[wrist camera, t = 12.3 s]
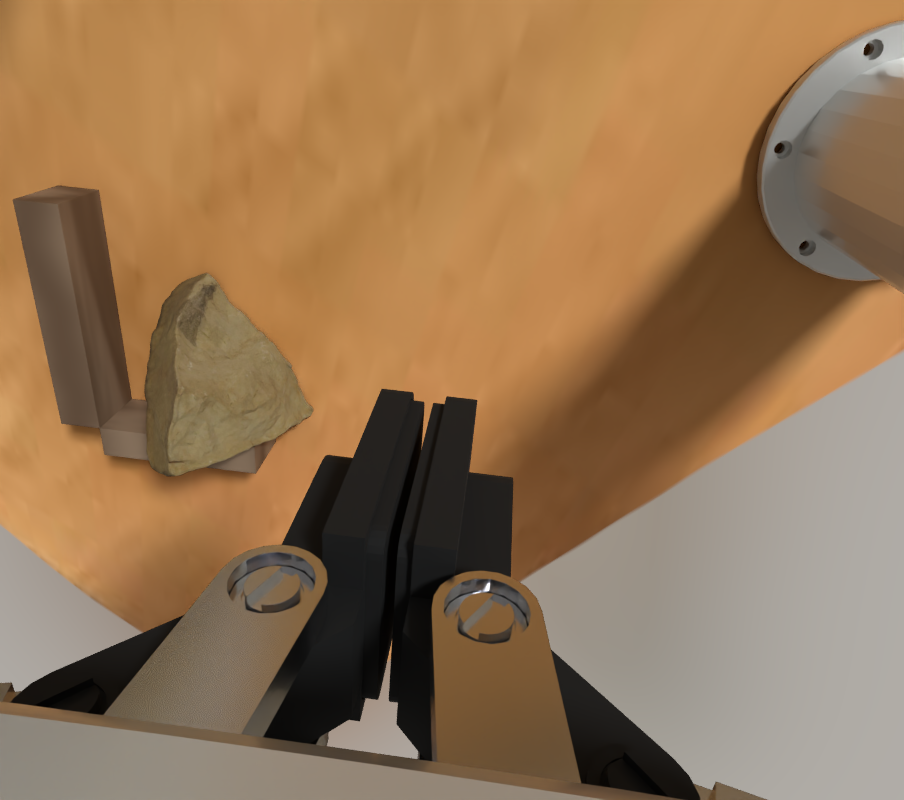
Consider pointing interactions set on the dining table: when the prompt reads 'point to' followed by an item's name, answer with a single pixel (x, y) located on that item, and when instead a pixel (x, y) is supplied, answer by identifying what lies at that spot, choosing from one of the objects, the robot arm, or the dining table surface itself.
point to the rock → (213, 382)
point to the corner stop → (88, 322)
